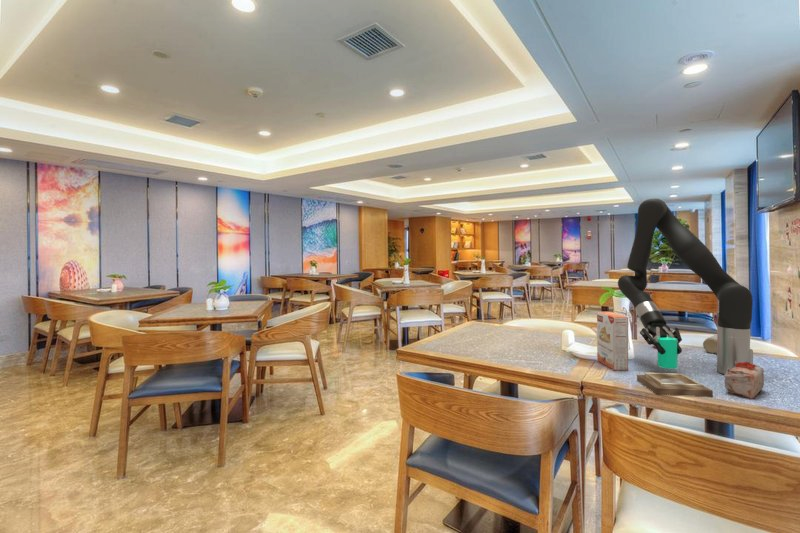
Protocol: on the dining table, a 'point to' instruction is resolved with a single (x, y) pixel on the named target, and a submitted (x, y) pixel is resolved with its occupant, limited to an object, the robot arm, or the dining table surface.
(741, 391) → the food item
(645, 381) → the walnut base board
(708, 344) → the beige rounded cylinder
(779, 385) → the dining table surface
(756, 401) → the dining table surface
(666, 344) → the candle
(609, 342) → the cracker box
